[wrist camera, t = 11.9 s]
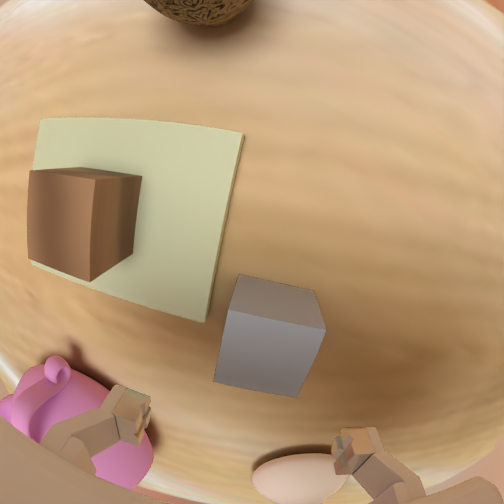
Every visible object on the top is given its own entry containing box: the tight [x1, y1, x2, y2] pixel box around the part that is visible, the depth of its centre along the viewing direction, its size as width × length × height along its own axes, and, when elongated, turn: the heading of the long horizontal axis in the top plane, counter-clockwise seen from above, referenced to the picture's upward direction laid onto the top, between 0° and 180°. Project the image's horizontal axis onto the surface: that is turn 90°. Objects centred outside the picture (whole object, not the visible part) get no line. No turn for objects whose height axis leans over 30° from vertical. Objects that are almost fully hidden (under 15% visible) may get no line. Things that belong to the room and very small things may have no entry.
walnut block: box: [27, 167, 142, 282], centre depth 13 cm, size 5×5×5 cm
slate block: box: [213, 274, 327, 397], centre depth 16 cm, size 5×5×5 cm
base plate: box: [31, 117, 244, 323], centre depth 16 cm, size 16×12×1 cm
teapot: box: [0, 355, 154, 490], centre depth 17 cm, size 22×22×14 cm
